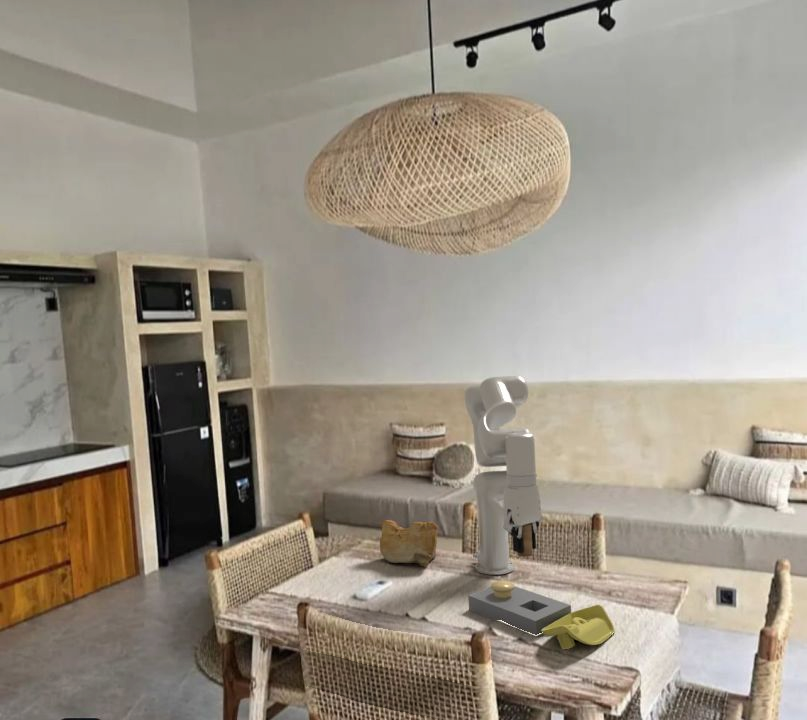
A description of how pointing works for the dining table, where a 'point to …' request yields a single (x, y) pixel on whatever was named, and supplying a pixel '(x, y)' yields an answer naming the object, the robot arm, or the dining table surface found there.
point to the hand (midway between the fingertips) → (524, 549)
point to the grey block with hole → (517, 606)
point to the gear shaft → (526, 541)
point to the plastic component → (581, 627)
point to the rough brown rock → (409, 542)
